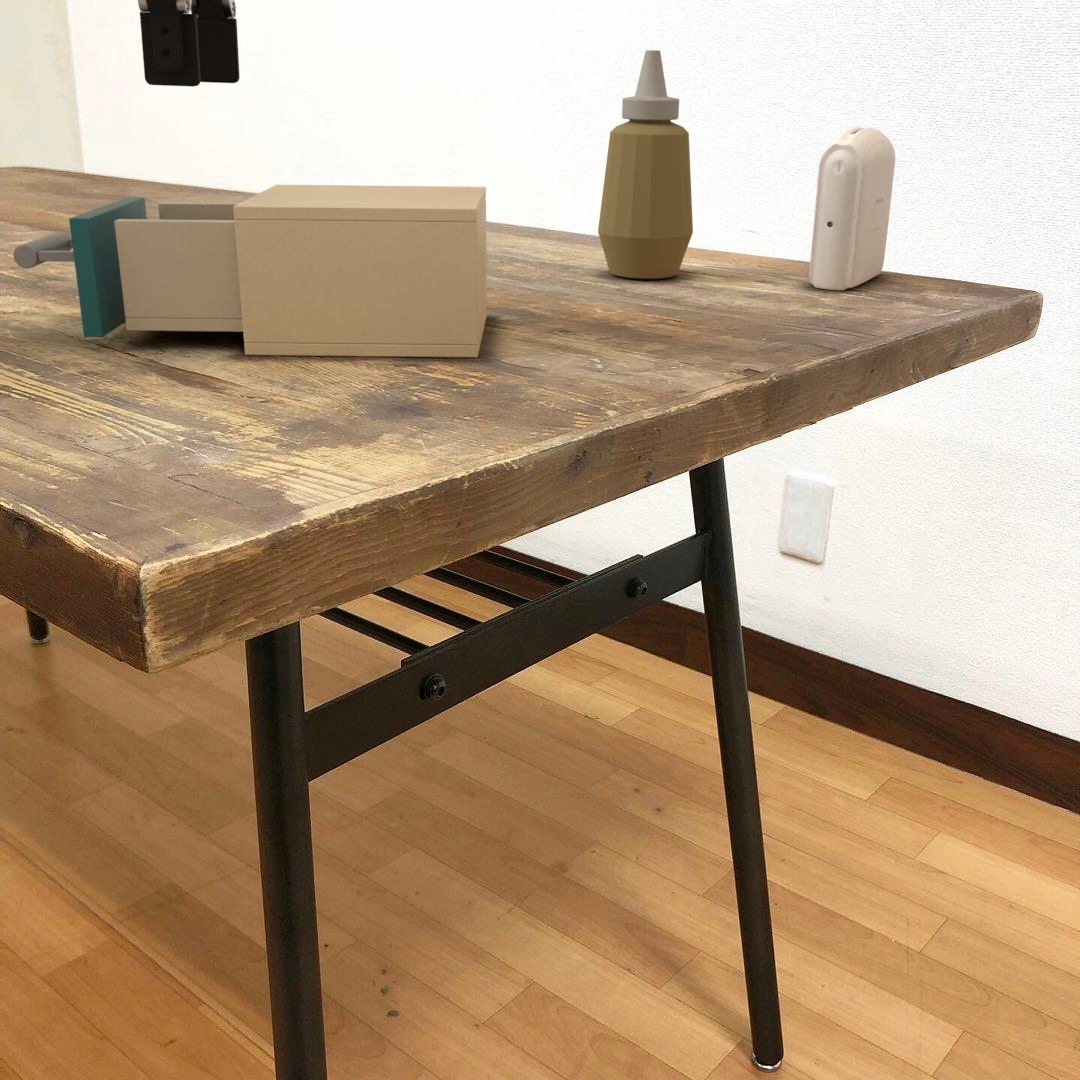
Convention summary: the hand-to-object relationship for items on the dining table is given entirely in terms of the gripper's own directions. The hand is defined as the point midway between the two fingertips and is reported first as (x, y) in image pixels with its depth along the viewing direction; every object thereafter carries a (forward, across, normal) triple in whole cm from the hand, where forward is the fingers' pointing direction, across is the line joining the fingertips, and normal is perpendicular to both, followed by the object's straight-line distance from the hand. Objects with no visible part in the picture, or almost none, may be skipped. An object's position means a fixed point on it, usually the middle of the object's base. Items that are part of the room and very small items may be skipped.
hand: (195, 83), depth 78 cm
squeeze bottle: (+15, -24, +31) cm, 42 cm away
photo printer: (+15, -22, +48) cm, 55 cm away
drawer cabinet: (+16, +1, +11) cm, 19 cm away
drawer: (+15, +1, -2) cm, 15 cm away
